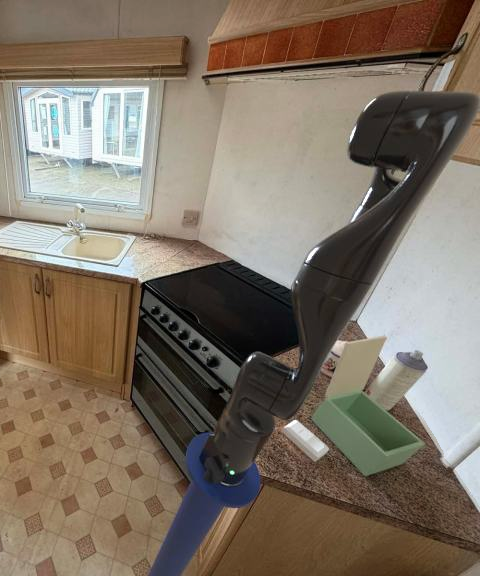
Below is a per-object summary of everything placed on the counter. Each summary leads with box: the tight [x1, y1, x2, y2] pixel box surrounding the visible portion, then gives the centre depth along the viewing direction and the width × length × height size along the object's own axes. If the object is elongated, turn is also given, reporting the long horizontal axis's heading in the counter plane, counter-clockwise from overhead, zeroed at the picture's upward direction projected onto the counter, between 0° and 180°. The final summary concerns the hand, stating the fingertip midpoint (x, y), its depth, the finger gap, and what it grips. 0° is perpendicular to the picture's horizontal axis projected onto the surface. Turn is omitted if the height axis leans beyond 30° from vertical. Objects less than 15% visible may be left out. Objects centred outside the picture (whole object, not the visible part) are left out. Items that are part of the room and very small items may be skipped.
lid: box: [324, 335, 388, 398], centre depth 78 cm, size 16×13×1 cm
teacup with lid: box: [320, 339, 348, 378], centre depth 97 cm, size 12×9×12 cm
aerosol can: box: [363, 349, 429, 412], centre depth 86 cm, size 7×7×20 cm
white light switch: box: [280, 419, 330, 463], centre depth 78 cm, size 5×9×3 cm, turn 29°
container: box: [310, 390, 426, 477], centre depth 78 cm, size 16×13×9 cm
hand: (333, 287), depth 79 cm, fingers open, 7 cm apart
